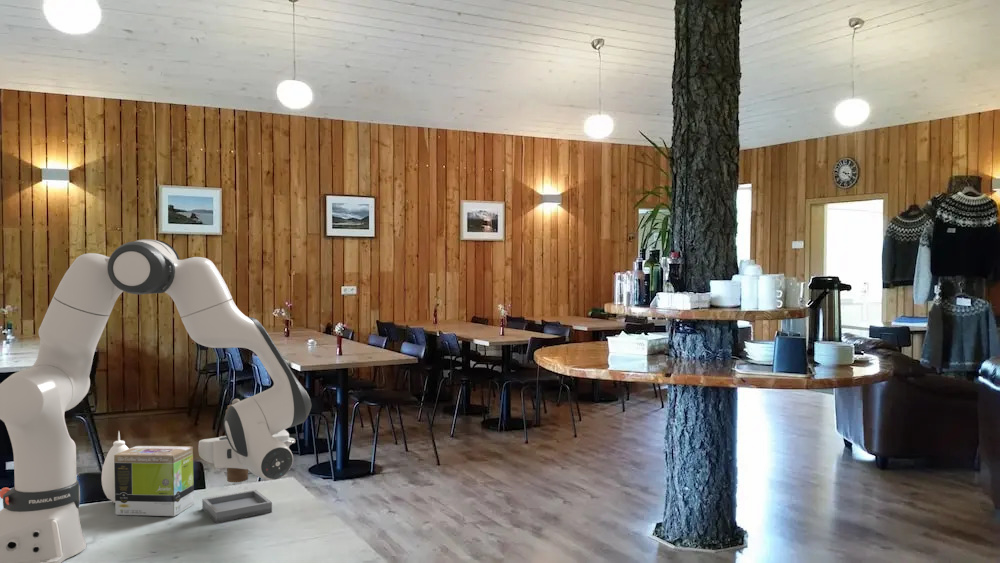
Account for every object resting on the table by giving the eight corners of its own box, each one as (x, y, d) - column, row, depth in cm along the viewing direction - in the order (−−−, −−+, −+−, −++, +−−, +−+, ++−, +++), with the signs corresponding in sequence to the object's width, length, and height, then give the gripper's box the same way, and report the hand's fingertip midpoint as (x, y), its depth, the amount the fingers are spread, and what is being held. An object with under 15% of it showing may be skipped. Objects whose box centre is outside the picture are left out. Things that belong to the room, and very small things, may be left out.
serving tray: (216, 522, 177) (216, 512, 177) (202, 508, 187) (202, 499, 187) (271, 512, 185) (271, 502, 185) (255, 499, 194) (255, 489, 194)
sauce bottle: (124, 495, 197) (123, 426, 197) (144, 500, 193) (143, 429, 193) (95, 504, 190) (94, 432, 190) (115, 509, 186) (113, 435, 186)
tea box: (195, 504, 191) (194, 445, 190) (174, 518, 181) (173, 455, 180) (137, 502, 192) (136, 443, 192) (113, 515, 182) (112, 453, 182)
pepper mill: (230, 483, 182) (228, 401, 182) (224, 478, 186) (223, 398, 186) (250, 480, 185) (249, 399, 184) (244, 475, 189) (243, 396, 188)
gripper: (298, 428, 181) (277, 419, 192) (207, 441, 169) (192, 430, 180) (298, 455, 181) (278, 444, 192) (208, 470, 169) (192, 457, 180)
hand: (235, 437), depth 186 cm, fingers closed on pepper mill, 5 cm apart
